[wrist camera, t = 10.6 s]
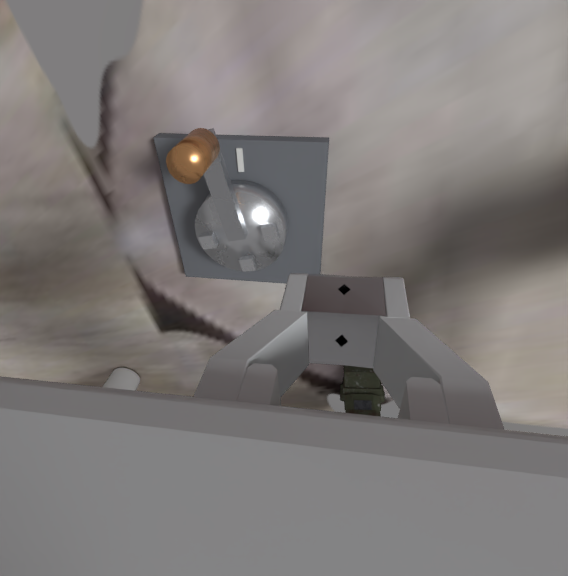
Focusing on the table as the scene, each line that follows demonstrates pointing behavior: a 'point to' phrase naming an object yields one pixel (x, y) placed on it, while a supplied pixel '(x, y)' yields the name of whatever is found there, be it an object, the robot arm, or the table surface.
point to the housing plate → (272, 174)
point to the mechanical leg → (361, 391)
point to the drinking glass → (123, 379)
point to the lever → (229, 207)
